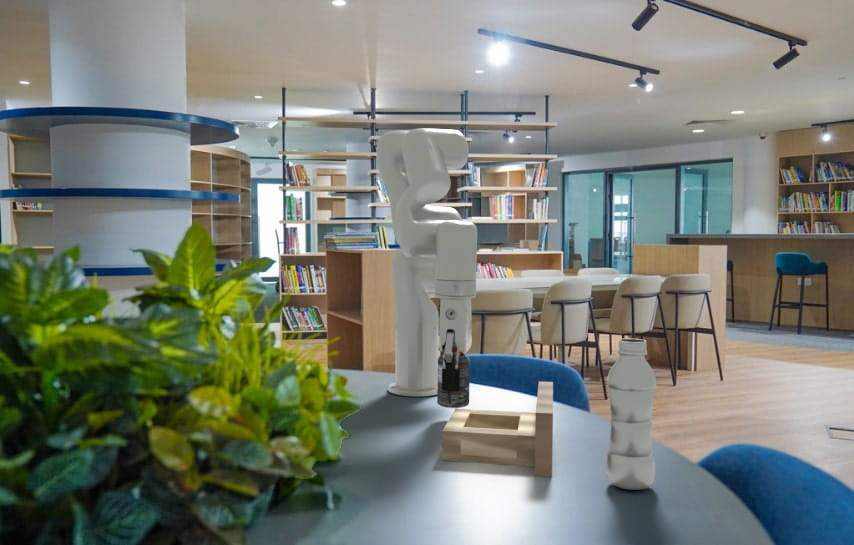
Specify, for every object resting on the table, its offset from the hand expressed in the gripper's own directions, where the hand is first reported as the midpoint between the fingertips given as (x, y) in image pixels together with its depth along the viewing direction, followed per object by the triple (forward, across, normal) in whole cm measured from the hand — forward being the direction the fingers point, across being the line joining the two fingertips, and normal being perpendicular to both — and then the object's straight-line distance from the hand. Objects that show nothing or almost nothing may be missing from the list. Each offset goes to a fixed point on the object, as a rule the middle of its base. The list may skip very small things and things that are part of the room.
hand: (453, 385), depth 125 cm
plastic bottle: (+5, -29, -29) cm, 41 cm away
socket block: (+6, -16, -9) cm, 19 cm away
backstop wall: (+6, -16, -17) cm, 24 cm away
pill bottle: (+4, 0, 0) cm, 4 cm away
